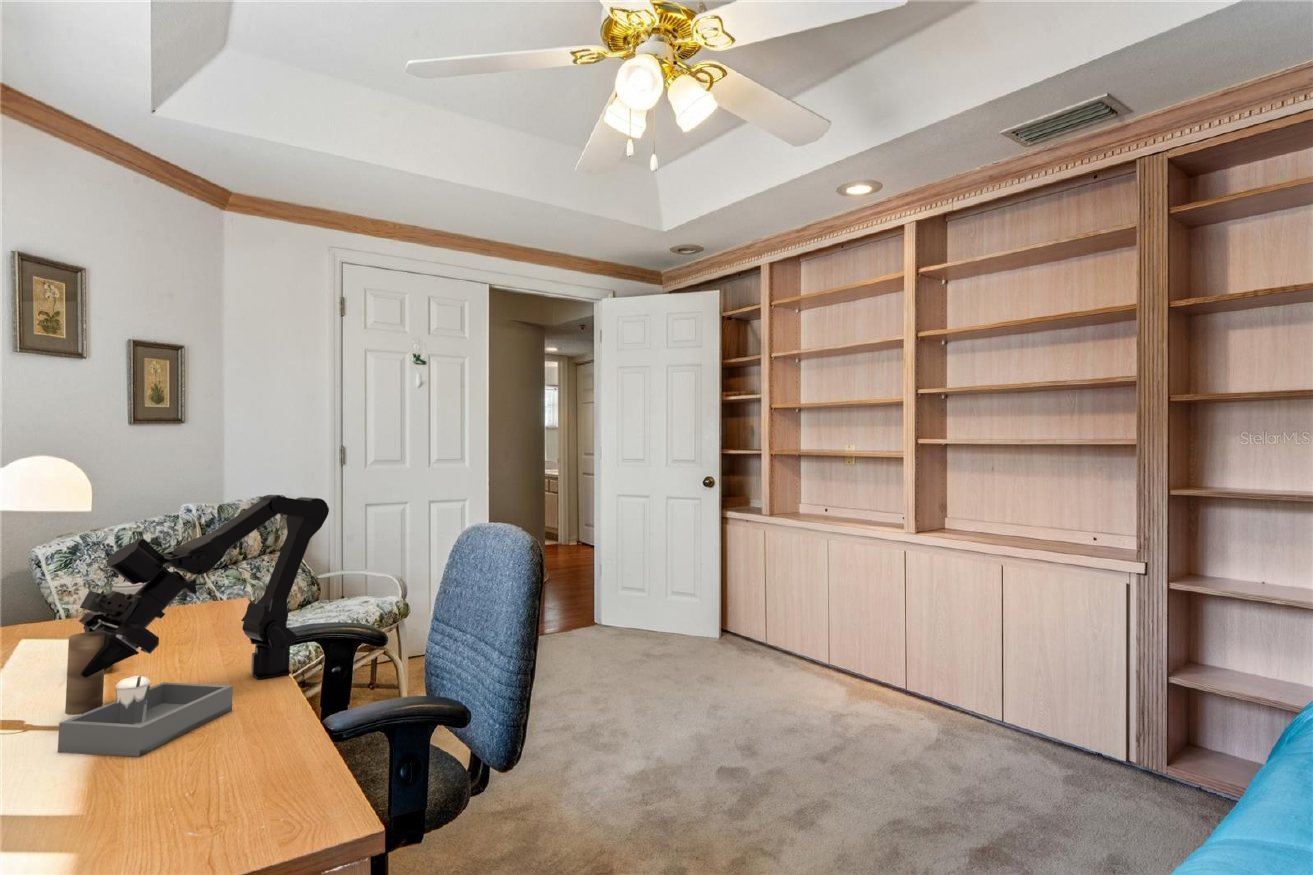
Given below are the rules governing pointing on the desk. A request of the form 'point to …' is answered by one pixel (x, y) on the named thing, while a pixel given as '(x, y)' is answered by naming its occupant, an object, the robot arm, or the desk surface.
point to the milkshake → (132, 700)
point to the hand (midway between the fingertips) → (76, 673)
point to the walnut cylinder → (80, 689)
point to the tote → (146, 720)
